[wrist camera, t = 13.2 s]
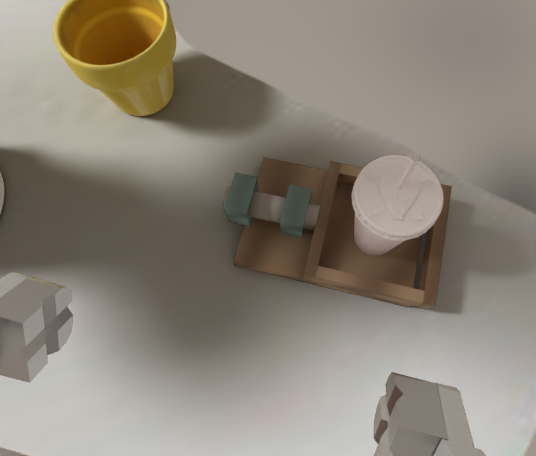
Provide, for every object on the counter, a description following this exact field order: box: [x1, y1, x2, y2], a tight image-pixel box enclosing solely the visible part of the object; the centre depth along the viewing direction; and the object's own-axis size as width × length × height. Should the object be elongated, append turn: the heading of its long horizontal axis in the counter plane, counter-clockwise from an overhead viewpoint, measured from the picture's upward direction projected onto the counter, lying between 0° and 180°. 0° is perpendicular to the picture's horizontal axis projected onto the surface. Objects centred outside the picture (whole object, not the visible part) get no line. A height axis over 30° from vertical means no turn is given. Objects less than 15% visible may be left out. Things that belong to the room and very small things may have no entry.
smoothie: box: [352, 153, 443, 256], centre depth 34 cm, size 6×6×14 cm
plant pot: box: [53, 0, 176, 116], centre depth 44 cm, size 10×10×10 cm
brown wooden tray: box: [223, 158, 452, 309], centre depth 40 cm, size 20×11×4 cm, turn 75°
